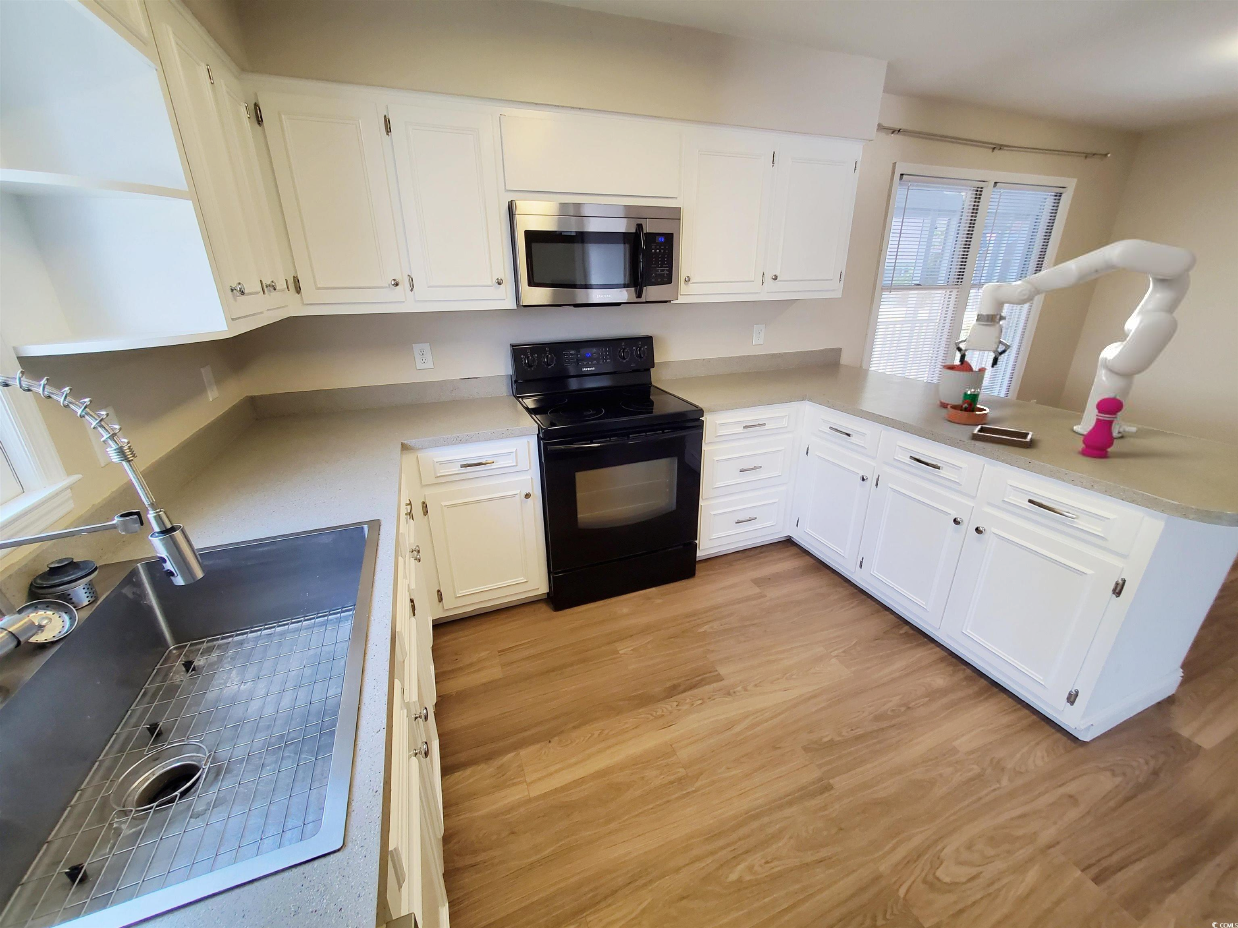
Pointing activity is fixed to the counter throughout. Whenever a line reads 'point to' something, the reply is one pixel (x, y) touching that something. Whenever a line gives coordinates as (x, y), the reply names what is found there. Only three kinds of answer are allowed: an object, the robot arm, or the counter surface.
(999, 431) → the tray
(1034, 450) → the counter surface
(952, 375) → the citrus juicer
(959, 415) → the bowl
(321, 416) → the counter surface
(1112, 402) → the pepper mill
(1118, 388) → the robot arm
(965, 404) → the soda can
